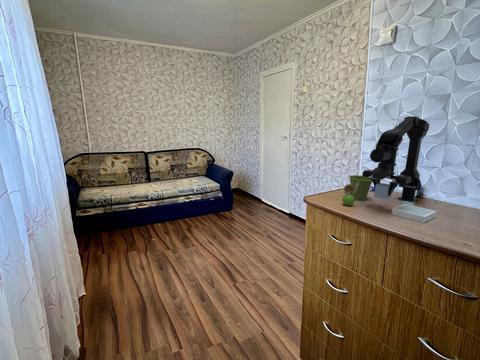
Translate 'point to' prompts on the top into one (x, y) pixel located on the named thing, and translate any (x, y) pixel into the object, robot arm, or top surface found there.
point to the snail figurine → (349, 194)
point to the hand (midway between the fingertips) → (382, 194)
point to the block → (382, 191)
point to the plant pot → (360, 186)
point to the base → (414, 213)
